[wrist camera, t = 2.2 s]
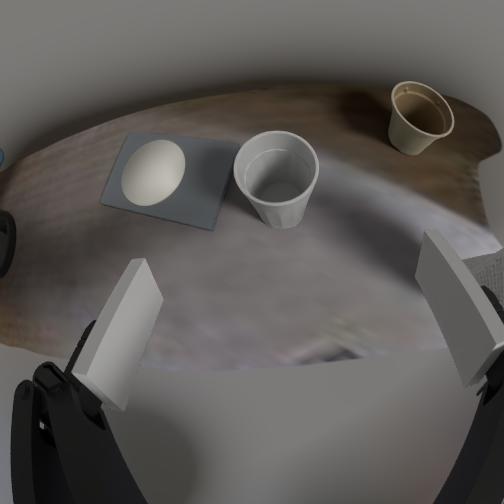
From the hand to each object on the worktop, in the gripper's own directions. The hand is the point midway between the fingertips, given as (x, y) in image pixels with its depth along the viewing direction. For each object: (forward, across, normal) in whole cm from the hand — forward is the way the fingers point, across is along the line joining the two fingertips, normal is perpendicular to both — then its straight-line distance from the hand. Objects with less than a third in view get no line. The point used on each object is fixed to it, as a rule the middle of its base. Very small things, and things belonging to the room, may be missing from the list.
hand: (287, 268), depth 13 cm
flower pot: (+31, +20, -2) cm, 37 cm away
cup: (+24, 0, -9) cm, 26 cm away
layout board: (+29, -17, -4) cm, 34 cm away
